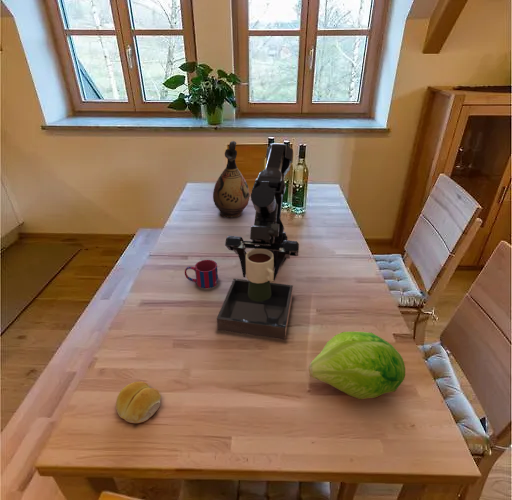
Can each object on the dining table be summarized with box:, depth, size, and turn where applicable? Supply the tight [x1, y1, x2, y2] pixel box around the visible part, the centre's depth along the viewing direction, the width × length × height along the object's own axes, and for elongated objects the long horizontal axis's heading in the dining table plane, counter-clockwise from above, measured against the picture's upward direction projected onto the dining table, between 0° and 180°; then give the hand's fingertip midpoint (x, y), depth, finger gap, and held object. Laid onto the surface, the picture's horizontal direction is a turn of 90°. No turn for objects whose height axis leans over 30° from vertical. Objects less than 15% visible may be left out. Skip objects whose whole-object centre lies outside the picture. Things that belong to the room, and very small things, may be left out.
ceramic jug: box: [212, 140, 251, 219], centre depth 146 cm, size 17×15×30 cm
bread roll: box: [115, 380, 162, 424], centre depth 73 cm, size 8×9×4 cm
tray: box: [216, 278, 294, 340], centre depth 97 cm, size 18×18×5 cm
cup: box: [184, 259, 219, 289], centre depth 109 cm, size 7×10×7 cm
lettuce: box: [308, 331, 406, 401], centre depth 75 cm, size 15×20×14 cm
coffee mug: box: [245, 248, 275, 301], centre depth 91 cm, size 11×7×13 cm, turn 36°
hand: (258, 278), depth 90 cm, fingers closed on coffee mug, 7 cm apart
